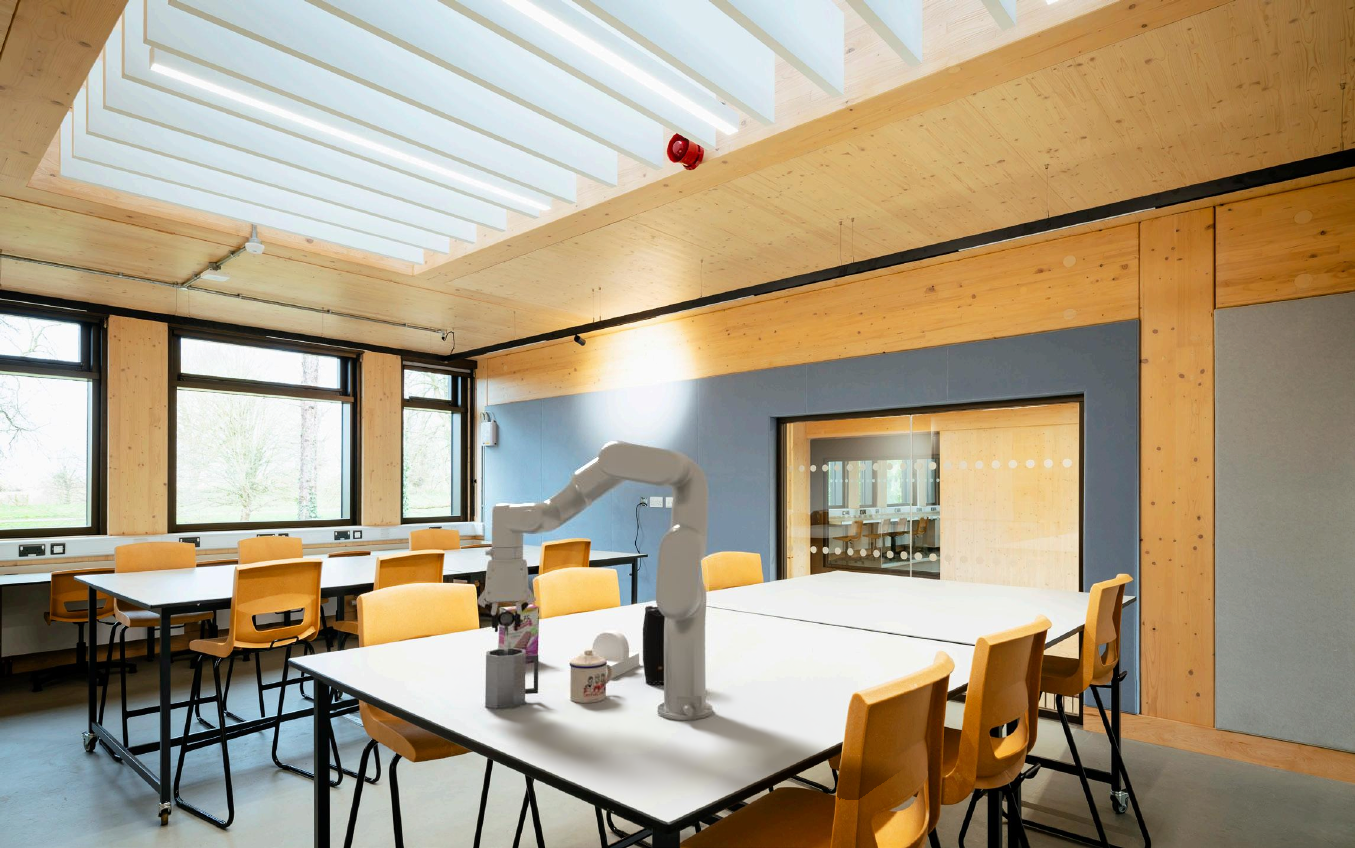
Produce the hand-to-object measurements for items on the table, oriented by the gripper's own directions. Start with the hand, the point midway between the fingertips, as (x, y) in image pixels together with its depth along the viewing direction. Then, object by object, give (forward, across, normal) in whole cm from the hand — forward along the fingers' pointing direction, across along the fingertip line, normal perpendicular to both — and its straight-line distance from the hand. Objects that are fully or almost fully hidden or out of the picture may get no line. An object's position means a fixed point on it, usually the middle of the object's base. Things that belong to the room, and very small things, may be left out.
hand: (506, 629), depth 180 cm
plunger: (+12, 0, 0) cm, 12 cm away
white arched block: (+18, +29, +27) cm, 44 cm away
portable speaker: (+17, +40, +10) cm, 45 cm away
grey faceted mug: (+17, +2, 0) cm, 17 cm away
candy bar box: (+18, +4, +43) cm, 47 cm away
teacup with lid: (+17, +21, 0) cm, 27 cm away
